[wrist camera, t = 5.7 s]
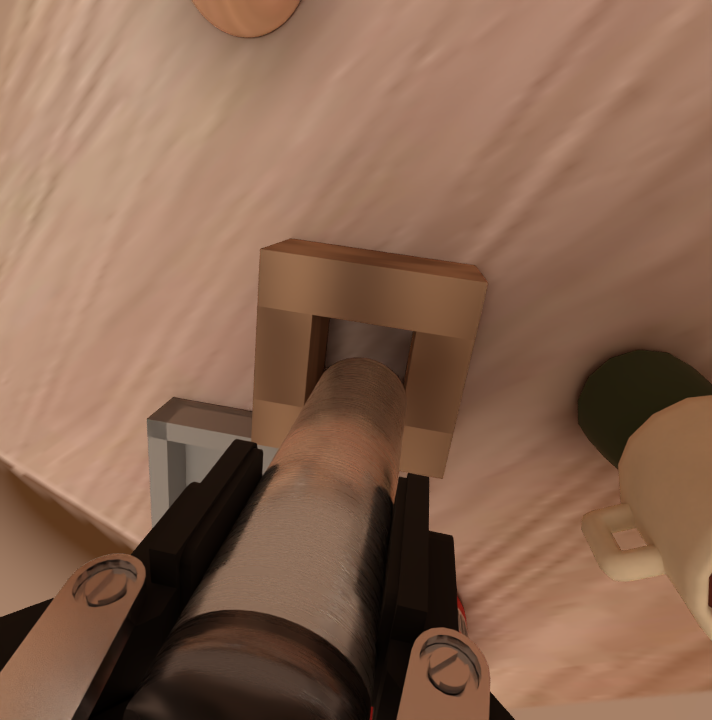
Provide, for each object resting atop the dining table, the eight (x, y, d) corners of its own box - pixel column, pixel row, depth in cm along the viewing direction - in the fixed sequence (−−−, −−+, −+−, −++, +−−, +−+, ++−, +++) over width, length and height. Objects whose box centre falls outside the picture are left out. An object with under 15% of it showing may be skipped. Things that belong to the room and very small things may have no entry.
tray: (356, 430, 28) (348, 456, 25) (338, 553, 32) (330, 588, 29) (173, 397, 29) (146, 418, 26) (176, 520, 33) (153, 551, 30)
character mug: (550, 477, 27) (652, 701, 15) (514, 375, 26) (599, 539, 13) (753, 424, 25) (1073, 646, 13) (730, 305, 23) (1080, 432, 11)
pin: (414, 366, 17) (379, 715, 6) (399, 448, 18) (345, 861, 7) (319, 350, 17) (113, 648, 6) (311, 431, 18) (130, 798, 7)
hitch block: (475, 265, 24) (488, 283, 19) (439, 430, 27) (442, 478, 23) (290, 238, 25) (260, 248, 20) (279, 402, 28) (251, 443, 23)
